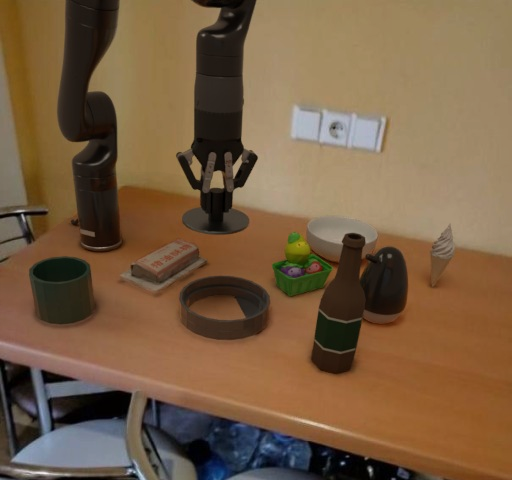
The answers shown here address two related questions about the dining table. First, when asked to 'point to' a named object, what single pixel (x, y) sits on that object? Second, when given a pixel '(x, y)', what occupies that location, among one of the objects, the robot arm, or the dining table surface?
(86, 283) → the pot
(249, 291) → the pan
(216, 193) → the lid
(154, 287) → the packaged product
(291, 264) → the fruit basket
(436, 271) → the ice cream cone
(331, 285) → the beer bottle
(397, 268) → the penguin figurine
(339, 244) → the cereal bowl
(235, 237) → the dining table surface
